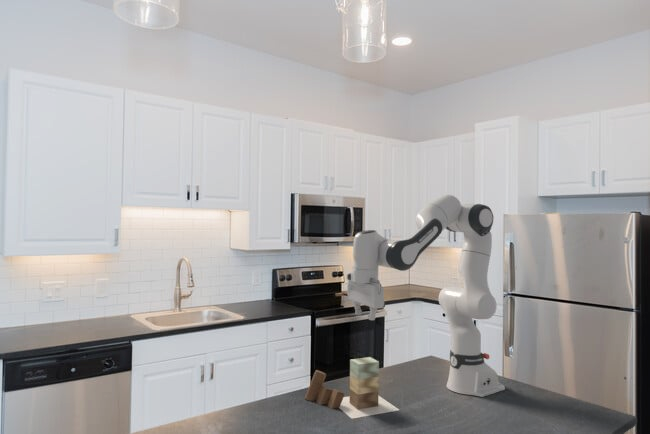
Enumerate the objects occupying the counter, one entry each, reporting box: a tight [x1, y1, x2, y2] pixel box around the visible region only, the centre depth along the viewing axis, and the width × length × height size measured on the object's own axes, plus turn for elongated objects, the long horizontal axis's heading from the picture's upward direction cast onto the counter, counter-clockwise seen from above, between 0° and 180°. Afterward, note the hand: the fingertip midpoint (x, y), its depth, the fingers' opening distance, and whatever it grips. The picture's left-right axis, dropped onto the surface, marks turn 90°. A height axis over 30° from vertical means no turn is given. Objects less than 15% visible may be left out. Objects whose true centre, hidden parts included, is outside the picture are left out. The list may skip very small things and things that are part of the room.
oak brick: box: [349, 373, 380, 394], centre depth 154 cm, size 8×6×5 cm
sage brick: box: [349, 356, 380, 379], centre depth 154 cm, size 8×6×5 cm
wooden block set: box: [304, 369, 345, 409], centre depth 158 cm, size 18×9×10 cm, turn 30°
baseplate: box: [338, 395, 400, 420], centre depth 154 cm, size 18×17×1 cm
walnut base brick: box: [349, 388, 380, 410], centre depth 154 cm, size 8×6×5 cm
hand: (364, 317), depth 154 cm, fingers open, 8 cm apart
